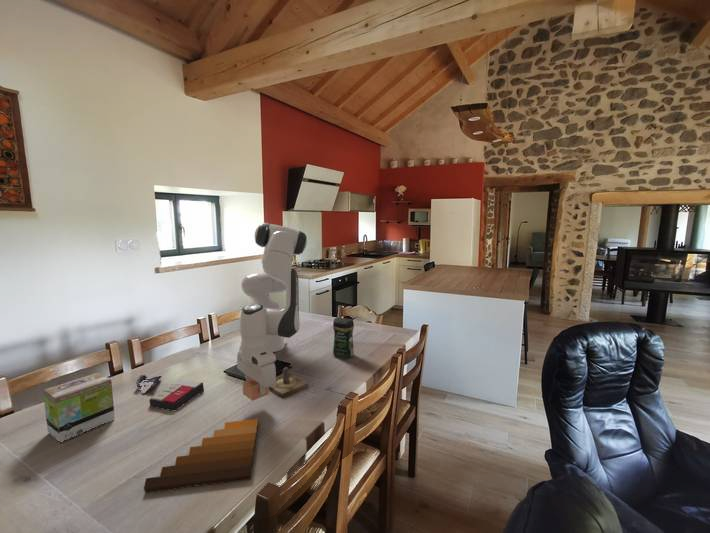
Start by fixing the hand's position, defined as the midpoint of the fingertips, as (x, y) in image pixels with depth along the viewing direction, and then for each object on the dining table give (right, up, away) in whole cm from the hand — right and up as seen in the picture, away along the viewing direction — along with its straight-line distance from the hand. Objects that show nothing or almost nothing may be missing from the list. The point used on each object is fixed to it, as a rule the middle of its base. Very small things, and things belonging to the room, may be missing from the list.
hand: (256, 389), depth 124 cm
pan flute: (-7, -11, -23) cm, 26 cm away
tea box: (-53, -9, -10) cm, 55 cm away
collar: (0, -2, 0) cm, 2 cm away
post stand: (+8, -5, +16) cm, 18 cm away
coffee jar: (+29, 0, +47) cm, 55 cm away
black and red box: (-31, -7, +8) cm, 33 cm away
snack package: (-47, -5, +17) cm, 51 cm away
